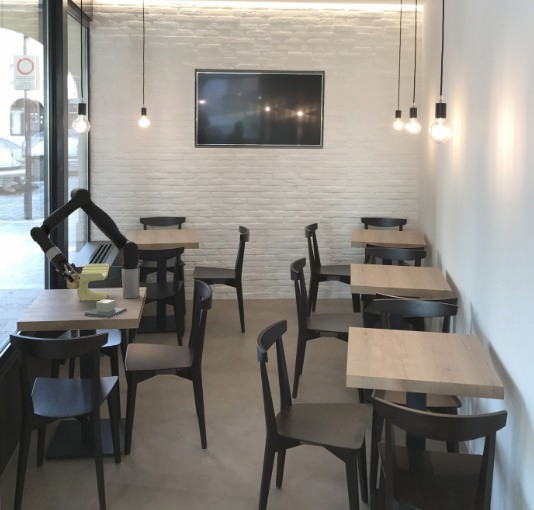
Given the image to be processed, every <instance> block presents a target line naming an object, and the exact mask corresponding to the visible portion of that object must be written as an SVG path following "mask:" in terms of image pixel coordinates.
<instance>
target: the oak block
mask: <svg viewBox="0 0 534 510" xmlns="http://www.w3.org/2000/svg"><path fill="white" fill-rule="evenodd" d="M69 274H70V275H71V277H72V278H73V279H74V281H73V282H72V283H71V282H70V281H69V280H68V279H67V278H66V288H67V289H70V290H75V289H76V290H77V288H79V274H80V273H78V272H77V273H69Z"/></svg>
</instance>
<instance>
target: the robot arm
mask: <svg viewBox="0 0 534 510" xmlns="http://www.w3.org/2000/svg"><path fill="white" fill-rule="evenodd" d="M69 196H70V199H69V200H68V201H67V202H66V203H65V204H63V205H62V206H60V207H59V208H57V209H56V210H54V211H53V212H51V213H50V214H49V215H48V216H47V217H46V218H45V219H44V220H43V221H42V225H40V226H33V227H32V228H31V229H30V231H29V235H30V237H31V239H32V240H33V242H35V243H37V245H39V247H40V250H41V251H42V252H43V253H44V254H45V256H46V257H47V259H48V260H49V261H50V262H51V264H53V266H54V267H55V269H54V271H55V272H56V273H57V274H58V275H59V276H60V277H61V278H65V279H66V280H67V279H68V280H69V281H70V282H71V283H72V282H73V281H74V279H73V278H72V277H71V275H70V273H77V274H78V271H79V270H78V268H77V266H76V264H75V263H74V262H72V263H70V262H68V258H67V257H66V255H64V253H63V252H62V251H61V249H60V248H59V247H57V246H56V244H55V243H54V242H53V241H52V240H51V239H50V237H49V235H50V234H51V233H52V232H53V230H55V229H56V228H57V227H58V226H59V225H60V224H61V223H63V221H65V220H66V219H67V218H68V217H69V216H71V214H73V213H74V212H76V211H77V210H78V209H80V210H82V211H83V213H85V215H86V216H87V217H88V218H89V219H90V220H91V222H93V224H94V225H95V226H96V227H97V228H98V229H99V231H100V232H102V233H103V234H104V236H105V237H106V238H107V239H108V240H110V242H111V243H112V244H113V245H114V246H115V247H116V248H117V251H118V252H119V253H120V254H121V255H123V262H122V263H121V281H122V282H121V283H122V297H124V298H123V299H136V298H140V296H141V294H140V280H139V266H138V265H139V261H140V257H139V256H140V253H139V252H140V251H139V246H138V244H137V243H136V242H134V241H131V240H129V239H128V238H127V237H125V235H123V233H122V232H121V231H120V229H119V227H118V226H117V224H116V222H115V221H114V219H113V218H112V217H111V216H110V215H109V214H108V213H107V212H105V210H104V209H102V208H100V207H99V206H98V205H97V204H96V203H95V202H94V201H93V200H92V199H91V197H92V196H91V192H90V191H89V190H88V189H87V188H83V187H75V188H73V189H72V190H71V191H70V195H69ZM79 279H80V277H79Z"/></svg>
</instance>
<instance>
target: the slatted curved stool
mask: <svg viewBox="0 0 534 510" xmlns="http://www.w3.org/2000/svg"><path fill="white" fill-rule="evenodd" d="M109 271H110V263H87V264H85V265H84V266H83V267H82V270H81V272H80V273H78V274H79V277H80V279H79V288H76V295H77V297H78V299H79V300H80V301H82V302H85V301H84V300H103V299H106V298H107V299H108V297H109V296H108V295H109V292H95V291H92V290H90V289H89V287H88V286H89V283H90V282H95V281H104V280H106V279H107V277H108V275H109ZM107 296H108V297H107ZM107 299H106V300H107Z"/></svg>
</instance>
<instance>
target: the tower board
mask: <svg viewBox="0 0 534 510" xmlns="http://www.w3.org/2000/svg"><path fill="white" fill-rule="evenodd" d="M95 305H96V306H95V308H93V309H90V310H88V311H85V312H84V315H83V316H86V315H91V316H90V317H95V316H98V317H97V318H104V317H108V318H107V319H111V318H113V316H114V317H116V316H118V314H119V315H122V314H123V312H124V313H126V312H128V308H127V307H116V301H115V299H103V300H100V301H95ZM115 315H116V316H115ZM110 317H111V318H110Z"/></svg>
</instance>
